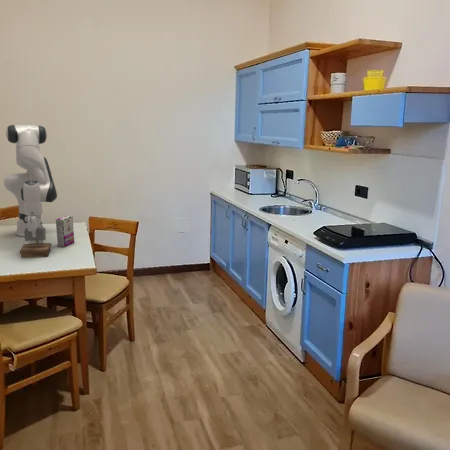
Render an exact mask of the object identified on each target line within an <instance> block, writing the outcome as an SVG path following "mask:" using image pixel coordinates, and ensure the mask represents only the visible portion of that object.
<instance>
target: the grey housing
mask: <svg viewBox="0 0 450 450" xmlns="http://www.w3.org/2000/svg"><path fill="white" fill-rule="evenodd" d="M45 231H46V227H44V228H37V229H36V237H32V232H31V231H28V228H25V230H24V234H25V236H24V241H25V242H29V241H36V240H43V241H45V240H46V234H45Z"/></svg>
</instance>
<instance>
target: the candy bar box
mask: <svg viewBox="0 0 450 450" xmlns="http://www.w3.org/2000/svg"><path fill="white" fill-rule="evenodd" d="M55 226H56V229H55V230H56V239H57V247H60V248H65V247H66V248H67V246H70V245H72V244H74V243H75V235H74V234H75V232H74V218H73V216H72V215H63V216H62V217H59V218H57V219H55Z"/></svg>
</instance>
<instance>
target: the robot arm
mask: <svg viewBox="0 0 450 450" xmlns="http://www.w3.org/2000/svg"><path fill="white" fill-rule="evenodd" d="M47 132H48V131H47V129H46V127H45V126H43V125H33V124H11V125H8V126H7V127H6V131H5V136H6V139H7V141H8V142H9V143H11V144H15V146H16V147H15V154H16V155H15V156H16V157H15V158H16V161H15V162H16V165H17V166H19V167H20V168H22V169H24V170H26V172H22V173H21V172H19V173H12V174H8V175H6V176H5V177H4V180H3V185H4V188H5V189H6V190H7V191H9V192H10V193H12V194H13V195H14V197H15V198H16V200H17V204H18V220H17V221H16V231H15V232H14V236H19V237H25V234H24V230H25V228H28V231H31V232H32V237H36V229H37V228H38V226H39V225H40V222H42V223H43V221H42V214H43V204H42V203H53V202H54V201H55V200H57V198H58V190H57V187H56V186H55V183H54V179H53V176H52V171H51V167H50V165H49V162H48V159H47V157H45V156H44V155H42V153H41V150H40V144H41V145H42V144H44V143H46V141H47V138H48V133H47ZM43 228H45V227H44V226H43ZM46 234H47V232H46V230H45V235H46Z"/></svg>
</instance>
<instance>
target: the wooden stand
mask: <svg viewBox="0 0 450 450" xmlns="http://www.w3.org/2000/svg"><path fill="white" fill-rule="evenodd" d="M51 247H52V242H44V243H34V244H30V243H24V244H23V245H22V247H21V248H20V250H19V254H21V258H23V259H24V258H41V257H43V258H44V257H45V258H46V257H47V258H48V256H49V252H51Z"/></svg>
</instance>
